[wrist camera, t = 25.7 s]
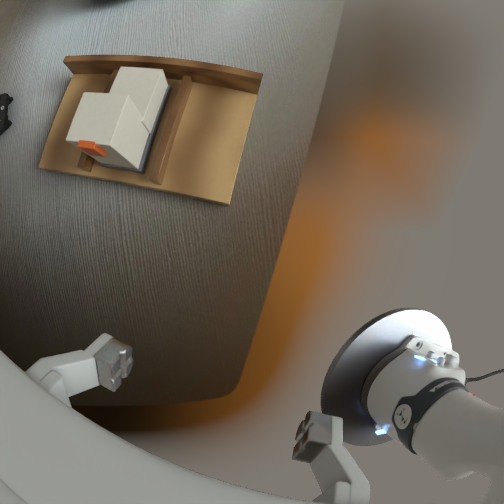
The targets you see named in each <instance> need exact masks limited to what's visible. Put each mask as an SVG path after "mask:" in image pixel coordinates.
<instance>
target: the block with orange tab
mask: <svg viewBox="0 0 504 504" xmlns="http://www.w3.org/2000/svg"><path fill="white" fill-rule="evenodd" d="M171 90H172V89H171V86H170V84H167V81H166V78H165V75H164V72H163V70H162V69H152V68H138V67H120V69H119V72H118V74H117V76H116V78H115V80H114V83H113V85H112V87H111V89H110V92H109V93H93V92H84V93H83V95H82V98H81V100H80V103H79V105H78V108H77V110H76V113H75V115H74V118H73V121H72V123H71V126H70V129H69V132H68V134H67V137H66V141H67V142H69V143H70V144H72V145H74V146H75V147H77V148H78V149H80V150H81V151H83V152H85V153H86V154H88V155H89V156H91V157H93V158H94V159H96V160H97V161H99V163H98V164H99V165H100V166H102V167H106V168H112V169H118V170H124V171H130V172H135V173H141V174H144V173H145V169H146V166H147V162H148V159H149V155H150V152H151V149H152V145H153V142H154V139H155V136H156V133H157V130H158V126H159V123H160V121H161V118H162V115H163V112H164V109H165V106H166V103H167V101H168V98H169V95H170V93H171Z"/></svg>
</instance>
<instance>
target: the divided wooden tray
mask: <svg viewBox="0 0 504 504" xmlns="http://www.w3.org/2000/svg"><path fill="white" fill-rule="evenodd" d="M63 63H64V64H65V65H66V66H67V67H68V68H69V69H70V71H71V72H72V73H73V74H74V75H73V77H72V79H71V81H70V83H69V85H68V87H67V90H66V92H65V94H64V96H63V99H62V101H61V104H60V106H59V108H58V111H57V113H56V116H55V119H54V121H53V124H52V127H51V129H50V132H49V135H48V138H47V141H46V144H45V147H44V150H43V154H42V157H41V160H40V164H39V167H38V168H40V169H43V170H46V171H50V172H56V173H62V174H68V175H74V176H80V177H86V178H92V179H97V180H103V181H109V182H114V183H119V184H125V185H130V186H135V187H140V188H145V189H150V190H155V191H160V192H165V193H170V194H175V195H179V196H184V197H189V198H193V199H198V200H203V201H207V202H212V203H216V204H221V205H225V206H229V204H230V200H231V196H232V192H233V188H234V184H235V180H236V176H237V172H238V168H239V164H240V160H241V156H242V152H243V148H244V144H245V140H246V136H247V132H248V128H249V125H250V121H251V117H252V113H253V110H254V106H255V102H256V99H257V95H258V91H259V87H260V83H261V80H262V76H263V74H262V73H257V72H253V71H248V70H244V69H239V68H234V67H229V66H223V65H218V64H212V63H206V62H199V61H192V60H184V59H175V58H165V57H153V56H136V55H80V56H66V57H65V59H64V61H63ZM120 67H138V68H152V69H162V70H163V72H164V75H165V78H166V81H167V84H170V86H171V89H172V90H171V93H170V95H169V98H168V101H167V103H166V106H165V109H164V112H163V115H162V118H161V121H160V123H159V126H158V130H157V133H156V136H155V139H154V142H153V145H152V149H151V152H150V155H149V159H148V162H147V166H146V169H145V173H144V174H141V173H135V172H130V171H124V170H118V169H112V168H106V167H102V166H100V165H99V164H98V163H99V161H97V160H96V159H94V158H93V157H91V156H89V155H88V154H86V153H85V152H83V151H81V150H80V149H78V148H77V147H75V146H74V145H72V144H70V143H69V142H67V141H66V137H67V134H68V132H69V129H70V126H71V123H72V121H73V118H74V115H75V113H76V110H77V108H78V105H79V103H80V100H81V98H82V95H83V93H84V92H93V93H109V92H110V89H111V87H112V85H113V83H114V80H115V78H116V76H117V74H118V72H119V69H120Z"/></svg>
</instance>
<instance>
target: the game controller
mask: <svg viewBox="0 0 504 504" xmlns="http://www.w3.org/2000/svg"><path fill="white" fill-rule="evenodd" d="M12 100H13V98H12V97H10V96H9V95H8V94H6V93H4V94H1V95H0V135H1V133H2V132H3V131H5V130H6V129H8V128H9V126H11V124H12V122H11V121H9V120H8V115H7V113H8V104H10V103H11V101H12Z"/></svg>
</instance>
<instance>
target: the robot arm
mask: <svg viewBox="0 0 504 504" xmlns="http://www.w3.org/2000/svg"><path fill="white" fill-rule="evenodd" d="M417 343H418V344H417ZM132 353H133V348H132V347H131V346H129V345H127V344H125V343H123V342H121V341H120V340H118V339H116V338H114V337H112V336H110V335H108V334H106V333H103V334H102V335H100V336H99V337H98V338H97V339H96V340H95V341H94V342H93V343H92V344H91V345H90V346H89V347H88V348H86V349H85V350H84V351H83V350H78V351H74V352H69V353H64V354H60V355H55V356H50V357H45V358H40V359H39V360H38V361H37V362H36V363H35V364H33V365H32V366H31V367H30V368H29V369H28V370H27V371H26V372H24V371H23V370H22V369H20V368H19V367H18V366H17V365H16V364H15V363H14V362H13V361H11V360H10V359H9V358H8V357H7V356H6V355H5V354H4V353H3V352H2V351H1V350H0V504H370V483H369V482H368V480H367V479H366V477H365V476H364V474H363V473H362V471H361V470H360V469H359V467H358V465H357V464H356V463H355V461H354V459H353V458H352V456H351V455H350V454H349V452H348V450H347V449H346V448H345V447H343V419H342V418H340V417H335V416H330V415H326V414H322V413H317V412H313V411H309V412H308V413H307V414H306V418H305V420H304V421H302V422H301V424H300V426H299V427H298V430H297V433H296V438H295V440H296V442H297V444H296V445H295V447H294V450H293V457H292V459H293V460H298V461H302V462H307V463H310V466H311V468H312V470H313V473H314V475H315V477H316V479H317V482H318V484H319V486H320V488H321V491H322V494H321V495H320V496H318V497H317V498H316V499H314V500H313V501H306V500H300V499H293V498H288V497H283V496H278V495H273V494H269V493H264V492H260V491H256V490H252V489H248V488H244V487H241V486H237V485H234V484H230V483H227V482H224V481H221V480H217V479H214V478H211V477H209V476H206V475H203V474H200V473H197V472H194V471H192V470H189V469H187V468H184V467H182V466H179V465H177V464H174V463H172V462H169V461H167V460H165V459H163V458H160V457H158V456H156V455H154V454H152V453H150V452H147V451H145V450H143V449H141V448H139V447H137V446H135V445H133V444H131V443H129V442H127V441H126V440H124V439H122V438H120V437H118V436H116V435H115V434H113V433H111V432H109V431H107V430H106V429H104V428H102V427H101V426H99V425H97V424H96V423H94V422H92V421H91V420H89V419H88V418H86V417H84V416H83V415H81V414H80V413H78V412H77V411H75V410H74V409H72V408H71V403H70V401H69V398H68V397H69V396H72V395H75V394H77V393H80V392H83V391H85V390H88V389H90V388H93V387H96V386H98V385H99V384H100V385H102V386H104V387H106V388H107V389H109V390H111V391H113V392H115V391H116V390H117V388H118V387H119V386H120V385H121V383H122V381H121V379H122V378H125V377H127V376H128V375H129V373H130V371H131V369H132V366H133V359H132V357H131V355H132ZM458 365H459V354H458V353H456V352H455V351H453V350H450V349H448V348H445V347H443V346H440V345H438V344H436V343H433V342H431V341H428V340H426V339H423V338H421V337H418V336H416V335H411V336H410V337H408V338H407V339H406V340H405V342H404V343H403V344H402V345H401V346H400V347H399V348H398V349H396V350H395V351H393V352H391V353H390V354H388V355H387V356H385V357H384V358H383V359H382V360H380V361H379V362H378V363H377V364H376V365H375V367H374V368H373V369H372V370H371V372H370V373H369V375H368V377H367V378H366V380H365V383H364V385H363V388H362V392H361V405H362V408H363V410H364V412H365V413H366V414H367V415H368V416H369V417H370V418H371V419H372V423H373V426H374V428H375V429H376V430H378V431H376V432H375V433H376V434H377V435H380V434H384V433H387V434H388V435H389V436H390V437H391V438H393V439H394V440H395V441H396V442H398V443H403V445H404V446H405V447H406V448H407V449H408V450H410V451H411V452H412V453H414V454H417V455H418V456H419V457H420V458H421V459H422V460H423V461H424V462H425V463H426V464H427V465H428V466H429V467H430V468H431V469H432V470H433V471H434V472H435V473H436V474H437V475H438V476H439V477H440V478H441V479H445V480H456V479H461V478H463V477H466V476H468V475H470V474H472V473H473V472H477V473H480V474H482V475H484V476H485V477H487V478H488V479H489V480H490V483H491V485H490V486H489V488H488V490H487V491H486V493H485V494H484V496H483V497H482V498H481V500H480V501H479V503H478V504H504V409H501V408H498V407H495V406H493V405H490V404H488V403H486V402H484V401H482V400H480V399H478V398H477V397H475V394H474V395H472V392H470V393H469V391H468V390H467V388H466V387H465V386H466V383H467V382H470V381H478V380H481V379H484V378H487V377H489V376H492V375H495V374H498V373H501V372H504V369H502V370H498V371H495V372H492V373H490V374H487V375H484V376H481V377H477V378H469V379H467V378H465V371H464V370H463V369H461V368H460V367H458Z"/></svg>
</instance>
